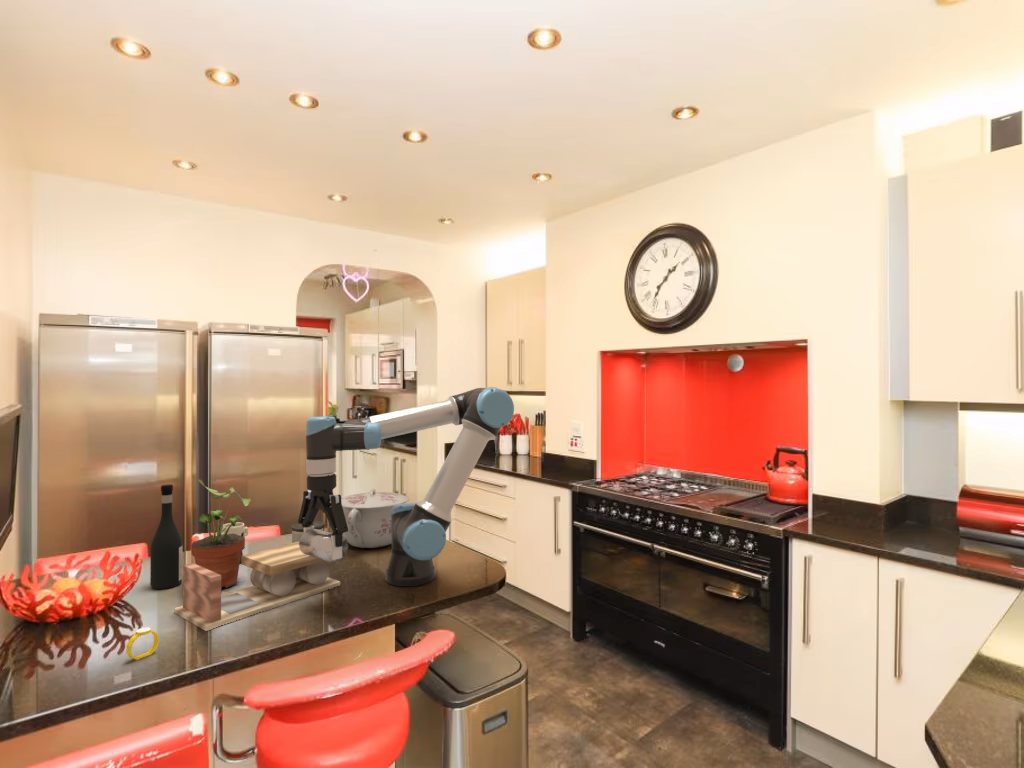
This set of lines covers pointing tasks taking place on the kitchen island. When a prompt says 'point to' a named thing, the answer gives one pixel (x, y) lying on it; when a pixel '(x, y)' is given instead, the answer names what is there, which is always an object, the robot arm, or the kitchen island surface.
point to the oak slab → (278, 559)
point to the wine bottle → (166, 547)
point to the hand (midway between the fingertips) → (322, 554)
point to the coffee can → (298, 530)
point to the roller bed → (246, 593)
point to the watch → (138, 632)
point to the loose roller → (320, 545)
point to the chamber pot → (370, 518)
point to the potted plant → (220, 544)
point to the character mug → (236, 531)
